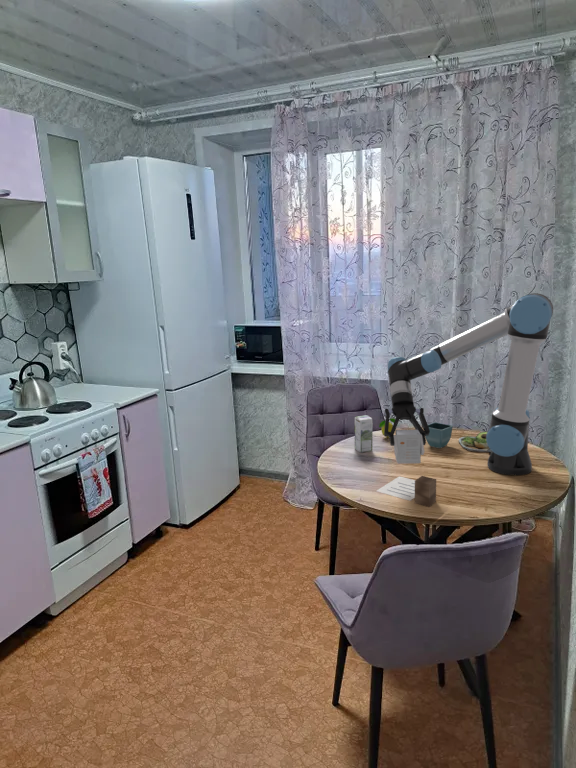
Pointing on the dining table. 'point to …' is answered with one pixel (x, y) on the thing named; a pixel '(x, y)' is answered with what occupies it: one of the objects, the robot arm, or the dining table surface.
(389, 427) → the lemon
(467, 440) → the avocado toast plate
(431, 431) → the flower pot
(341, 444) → the dining table surface
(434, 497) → the walnut block
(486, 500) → the dining table surface
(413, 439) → the small box
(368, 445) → the syrup box
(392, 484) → the letter
